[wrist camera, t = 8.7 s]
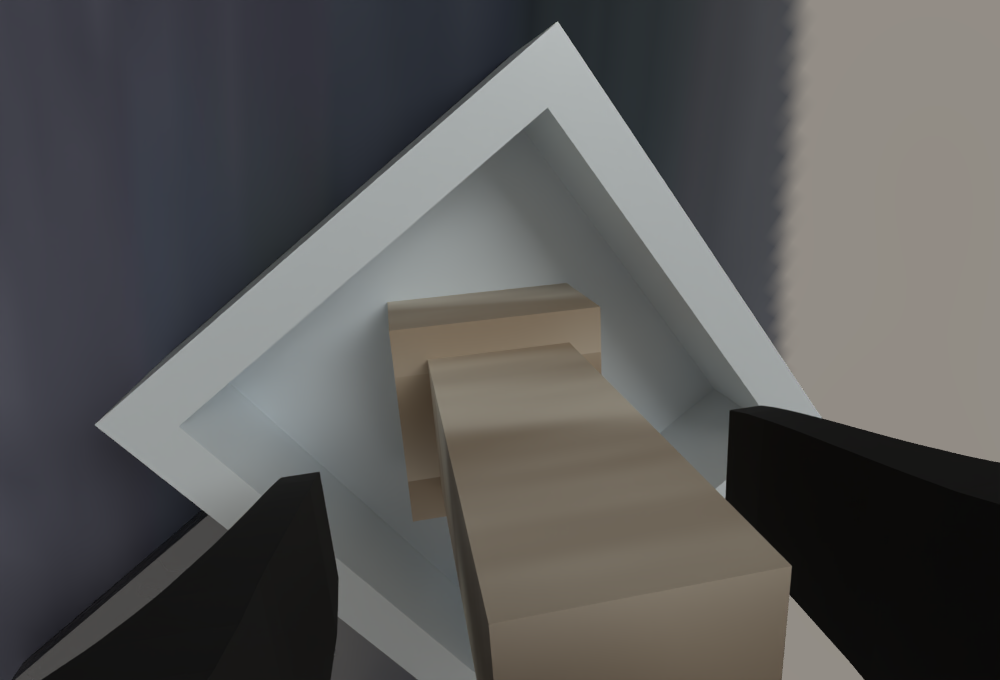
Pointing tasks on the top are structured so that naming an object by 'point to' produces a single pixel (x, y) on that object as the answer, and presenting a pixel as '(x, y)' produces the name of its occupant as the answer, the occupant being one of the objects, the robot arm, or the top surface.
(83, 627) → the stud plate
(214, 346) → the tray
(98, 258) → the top surface
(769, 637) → the strut
